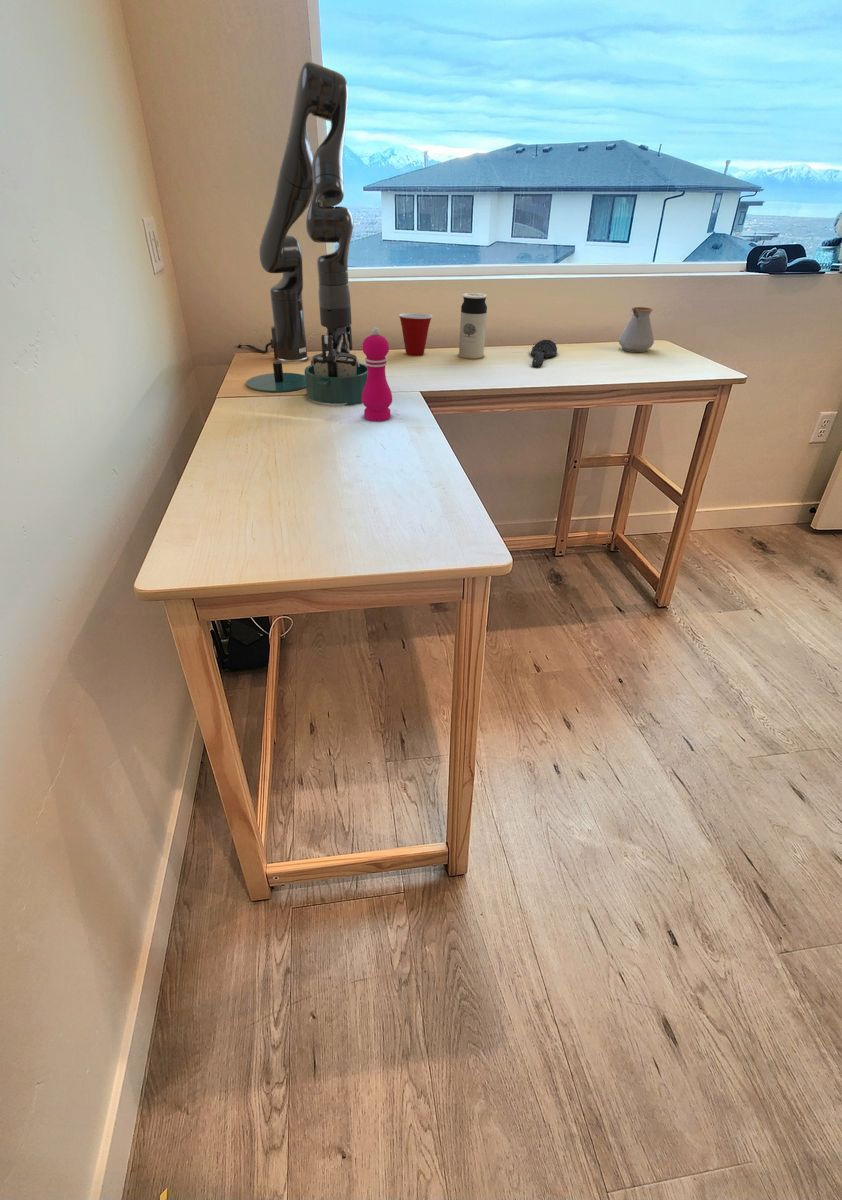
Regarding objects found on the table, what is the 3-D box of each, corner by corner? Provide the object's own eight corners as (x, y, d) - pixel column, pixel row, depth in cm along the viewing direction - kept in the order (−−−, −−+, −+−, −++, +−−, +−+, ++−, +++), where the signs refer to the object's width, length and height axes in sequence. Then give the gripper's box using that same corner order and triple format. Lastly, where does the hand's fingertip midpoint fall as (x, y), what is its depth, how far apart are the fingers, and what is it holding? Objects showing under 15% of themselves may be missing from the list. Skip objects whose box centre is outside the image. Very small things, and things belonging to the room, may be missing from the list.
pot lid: (234, 391, 163) (230, 368, 160) (265, 374, 177) (263, 352, 174) (295, 397, 159) (293, 374, 156) (322, 379, 173) (320, 357, 170)
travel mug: (467, 352, 203) (470, 291, 193) (488, 355, 200) (492, 294, 189) (454, 356, 198) (456, 294, 188) (475, 360, 194) (479, 297, 184)
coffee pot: (621, 344, 217) (630, 297, 208) (654, 348, 212) (665, 300, 204) (606, 357, 201) (615, 307, 192) (642, 361, 197) (652, 310, 188)
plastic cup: (434, 351, 204) (436, 311, 197) (427, 359, 195) (428, 318, 188) (403, 349, 206) (403, 309, 199) (394, 356, 197) (394, 315, 190)
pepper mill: (396, 414, 149) (396, 325, 138) (385, 423, 144) (384, 332, 132) (369, 411, 151) (366, 323, 140) (357, 419, 146) (353, 329, 134)
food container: (364, 392, 163) (363, 352, 157) (360, 399, 158) (358, 358, 152) (318, 390, 164) (315, 350, 158) (313, 397, 159) (309, 356, 153)
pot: (291, 405, 154) (289, 377, 150) (326, 382, 172) (324, 356, 168) (354, 411, 151) (352, 383, 147) (382, 387, 168) (382, 361, 164)
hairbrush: (523, 356, 188) (535, 335, 207) (522, 369, 190) (534, 347, 209) (550, 359, 186) (560, 338, 205) (549, 371, 188) (558, 349, 207)
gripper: (331, 299, 155) (336, 366, 164) (308, 308, 144) (314, 379, 153) (359, 300, 154) (362, 368, 163) (338, 310, 142) (342, 382, 151)
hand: (339, 373), depth 158 cm, fingers open, 8 cm apart
